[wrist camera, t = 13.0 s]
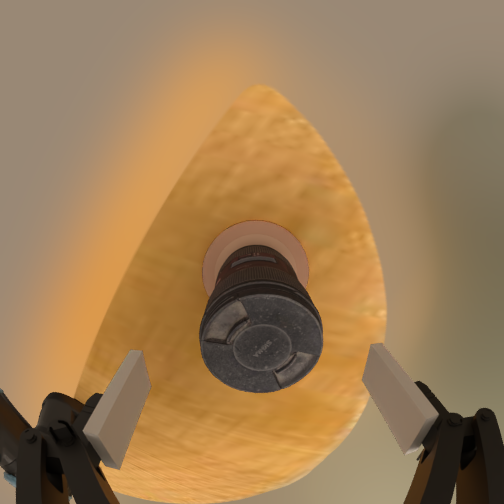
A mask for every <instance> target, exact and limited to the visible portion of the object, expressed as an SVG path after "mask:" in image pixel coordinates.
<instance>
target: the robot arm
mask: <svg viewBox="0 0 504 504" xmlns="http://www.w3.org/2000/svg"><path fill="white" fill-rule="evenodd" d="M362 381H363V383H364V384H365V386H366V388H367V390H368V391H369V393H370V395H371V396H372V398H373V400H374V401H375V403H376V405H377V407H378V409H379V410H380V412H381V414H382V415H383V417H384V419H385V421H386V423H387V424H388V426H389V428H390V430H391V432H392V433H393V435H394V437H395V439H396V441H397V442H398V444H399V446H400V448H401V449H402V451H403V453H404V455H406V454H409V453H412V452H414V451H417V450H418V448H419V446H420V445H421V444H423V446H424V449H423V451H422V452H421V454H420V455H419V457H418V458H417V460H419V459H420V461H419V464H418V467H417V470H416V473H415V475H414V478H413V481H412V484H411V486H410V489H409V492H408V494H407V497H406V499H405V501H404V504H450V503H451V500H452V496H453V492H454V487H455V484H456V504H504V445H503V441H502V438H501V433H500V430H499V426H498V423H497V419H496V416H495V414H494V412H493V411H492V410H490V409H488V408H481V409H479V410H478V411H477V413H476V414H475V416H473V417H466V418H463V417H462V416H461V415H459V414H457V413H449V412H448V411H447V410H446V409H445V407H444V406H443V405H442V404H441V402H440V401H439V400H438V399H437V397H435V395H434V394H433V393H432V392H431V390H430V389H429V388H428V386H427V385H425V384H424V383H422V382H420V381H417V382H413V380H412V379H411V378H410V377H409V375H408V374H407V373H406V372H405V370H404V369H403V368H402V367H401V366H400V365H399V363H398V362H397V361H396V360H395V358H394V357H393V356H392V355H391V353H390V352H389V351H388V350H387V349H386V347H385V346H384V345H383V344H382V343H377V344H371V345H370V350H369V354H368V358H367V362H366V366H365V370H364V374H363V378H362ZM150 389H151V384H150V380H149V376H148V372H147V368H146V364H145V360H144V356H143V351H139V350H130V351H129V353H128V354H127V356H126V358H125V359H124V361H123V362H122V364H121V366H120V367H119V369H118V371H117V372H116V374H115V375H114V377H113V379H112V380H111V382H110V384H109V385H108V387H107V389H106V391H105V392H104V394H99V393H95V394H94V395H92V396H91V397H90V398H89V399H88V400H87V402H86V404H85V406H84V405H83V404H81V403H80V402H78V401H77V400H75V399H73V398H71V397H69V396H67V395H64V394H62V393H57V392H52V393H50V394H49V395H48V396H47V397H46V398H45V400H44V401H43V404H42V410H41V412H40V416H39V420H38V424H37V426H36V427H35V428H32V427H31V426H30V424H29V423H28V422H27V421H26V420H25V419H24V418H23V417H22V415H21V414H20V413H19V412H18V411H17V410H16V408H15V407H14V406H13V405H12V403H11V402H10V401H9V399H8V398H7V397H6V395H5V394H4V393H3V390H2V389H0V466H1V467H2V468H3V469H4V470H5V472H4V478H5V480H7V481H8V482H9V483H10V484H11V485H13V486H14V487H15V488H16V504H69V501H70V499H71V498H72V495H73V497H74V499H75V502H76V504H120V503H119V502H118V500H117V498H116V497H115V495H114V493H113V491H112V489H111V487H110V485H109V484H108V482H107V480H106V478H105V476H104V474H103V472H102V470H101V468H100V467H99V463H100V461H101V460H102V462H103V463H104V465H105V466H107V467H111V468H115V469H118V470H120V468H121V465H122V462H123V459H124V456H125V454H126V451H127V448H128V445H129V443H130V440H131V437H132V435H133V432H134V429H135V427H136V424H137V422H138V419H139V416H140V414H141V411H142V409H143V406H144V404H145V401H146V399H147V396H148V394H149V391H150Z"/></svg>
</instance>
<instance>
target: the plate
mask: <svg viewBox="0 0 504 504" xmlns="http://www.w3.org/2000/svg"><path fill="white" fill-rule="evenodd" d="M248 245H265V246H268V247H271V248H273V249H275V250H277V251H278V252H279V253H281V254H282V255H283V256H284V257H285V258H286V259H287V260H288V261H289V262H290V264H291V265H292V267H293V269H294V271H295V273H296V275H297V278H298V280H299V282H300V283H301V284H302V285H303V287H304V288H305V289H306V286H307V282H308V277H309V266H308V260H307V257H306V254H305V251H304V249H303V247H302V246H301V244H300V243H299V241H298V240H297V239H296V238H295V237H294V236H293V235H292V234H291V233H290V232H289V231H287V230H286V229H284V228H283V227H281V226H279V225H277V224H274V223H271V222H267V221H258V220H254V221H245V222H241V223H238V224H235V225H233V226H231V227H229V228H227V229H226V230H224V231H223V232H222V233H221V234H219V235H218V236H217V237H216V238H215V240H214V241H213V242H212V244H211V245H210V247H209V248H208V250H207V253H206V255H205V258H204V261H203V268H202V277H203V283H204V287H205V290H206V292H207V294H208V296H209V298H210V296H211V294H212V292H213V290H214V288H215V283H216V279H217V276H218V273H219V270H220V268H221V266H222V265H223V263H224V262H225V261H226V259H227V258H228V257H229V256H230V255H231V254H232V253H233V252H234V251H236V250H237V249H240V248H242V247H244V246H248Z"/></svg>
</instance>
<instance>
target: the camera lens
mask: <svg viewBox="0 0 504 504" xmlns="http://www.w3.org/2000/svg"><path fill="white" fill-rule="evenodd" d="M199 339H200V346H201V353H202V358H203V360H204V363H205V365H206V366H207V368H208V369H209V370H210V372H211V373H212V374H213V375H214V376H215V377H216V378H217V379H219V380H220V381H221V382H223V383H224V384H226V385H228V386H230V387H232V388H235V389H237V390H241V391H245V392H253V393H268V392H274V391H278V390H280V389H284V388H287V387H289V386H291V385H293V384H295V383H296V382H298V381H299V380H301V379H302V378H304V377H305V376H306V375H307V374H308V373H309V372H310V371H311V370H312V369H313V367H314V366H315V365H316V363H317V362H318V359H319V357H320V355H321V352H322V348H323V327H322V321H321V318H320V315H319V312H318V310H317V309H316V307H315V306H314V304H313V302H312V300H311V298H310V296H309V294H308V293H307V291H306V289H305V288H304V287H303V285H302V284H301V283H300V282H299V280H298V278H297V275H296V273H295V271H294V269H293V267H292V265H291V264H290V262H289V261H288V260H287V259H286V258H285V257H284V256H283V255H282V254H281V253H279V252H278V251H277V250H275V249H273V248H271V247H268V246H265V245H248V246H244V247H242V248H240V249H237V250H236V251H234V252H233V253H232V254H231V255H230V256H229V257H228V258H227V259H226V261H225V262H224V263H223V265H222V266H221V268H220V270H219V273H218V276H217V279H216V283H215V288H214V290H213V292H212V294H211V296H210V298H209V300H208V303H207V306H206V309H205V313H204V315H203V318H202V321H201V325H200V331H199Z"/></svg>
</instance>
